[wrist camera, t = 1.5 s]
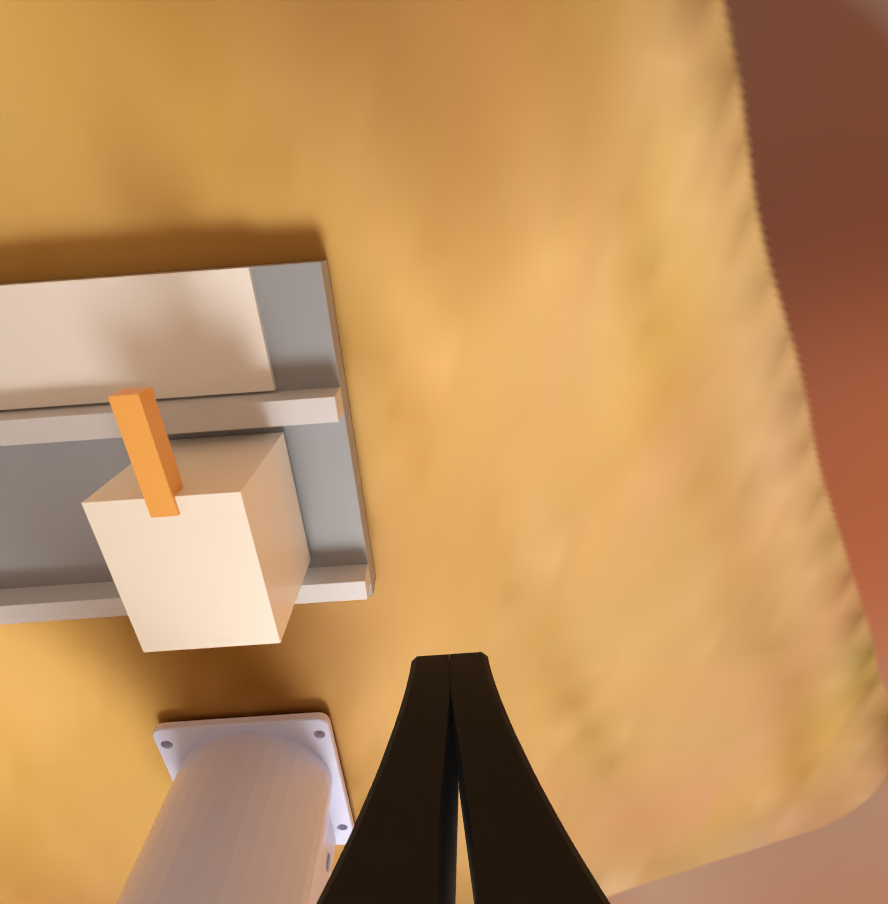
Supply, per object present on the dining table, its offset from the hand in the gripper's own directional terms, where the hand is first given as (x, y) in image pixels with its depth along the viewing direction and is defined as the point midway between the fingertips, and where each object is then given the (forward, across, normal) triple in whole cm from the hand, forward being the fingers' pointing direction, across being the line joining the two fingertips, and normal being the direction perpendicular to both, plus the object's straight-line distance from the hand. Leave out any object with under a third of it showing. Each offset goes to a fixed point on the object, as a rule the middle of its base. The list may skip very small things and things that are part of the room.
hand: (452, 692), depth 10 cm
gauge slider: (+8, +7, -1) cm, 11 cm away
